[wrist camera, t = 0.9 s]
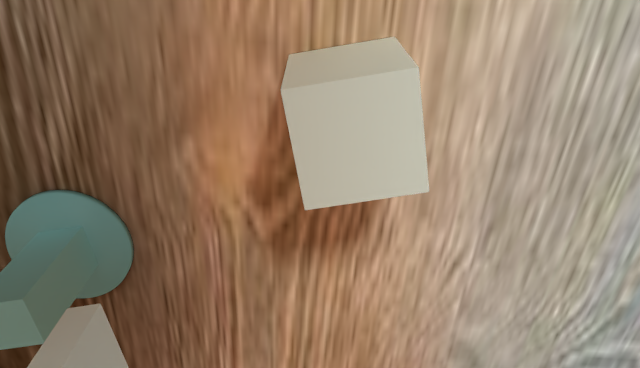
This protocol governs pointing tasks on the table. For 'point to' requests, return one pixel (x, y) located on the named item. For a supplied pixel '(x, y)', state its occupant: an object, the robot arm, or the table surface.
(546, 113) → the table surface
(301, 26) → the table surface
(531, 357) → the table surface
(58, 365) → the robot arm
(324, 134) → the white rectangular block
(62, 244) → the teal post on base
